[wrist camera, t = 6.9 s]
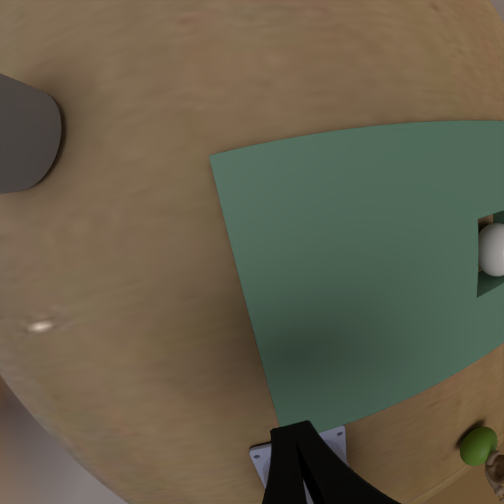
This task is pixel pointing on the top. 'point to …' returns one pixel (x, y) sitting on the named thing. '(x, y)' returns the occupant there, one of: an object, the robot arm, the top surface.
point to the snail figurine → (484, 455)
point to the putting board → (365, 261)
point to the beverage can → (26, 134)
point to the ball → (491, 249)
